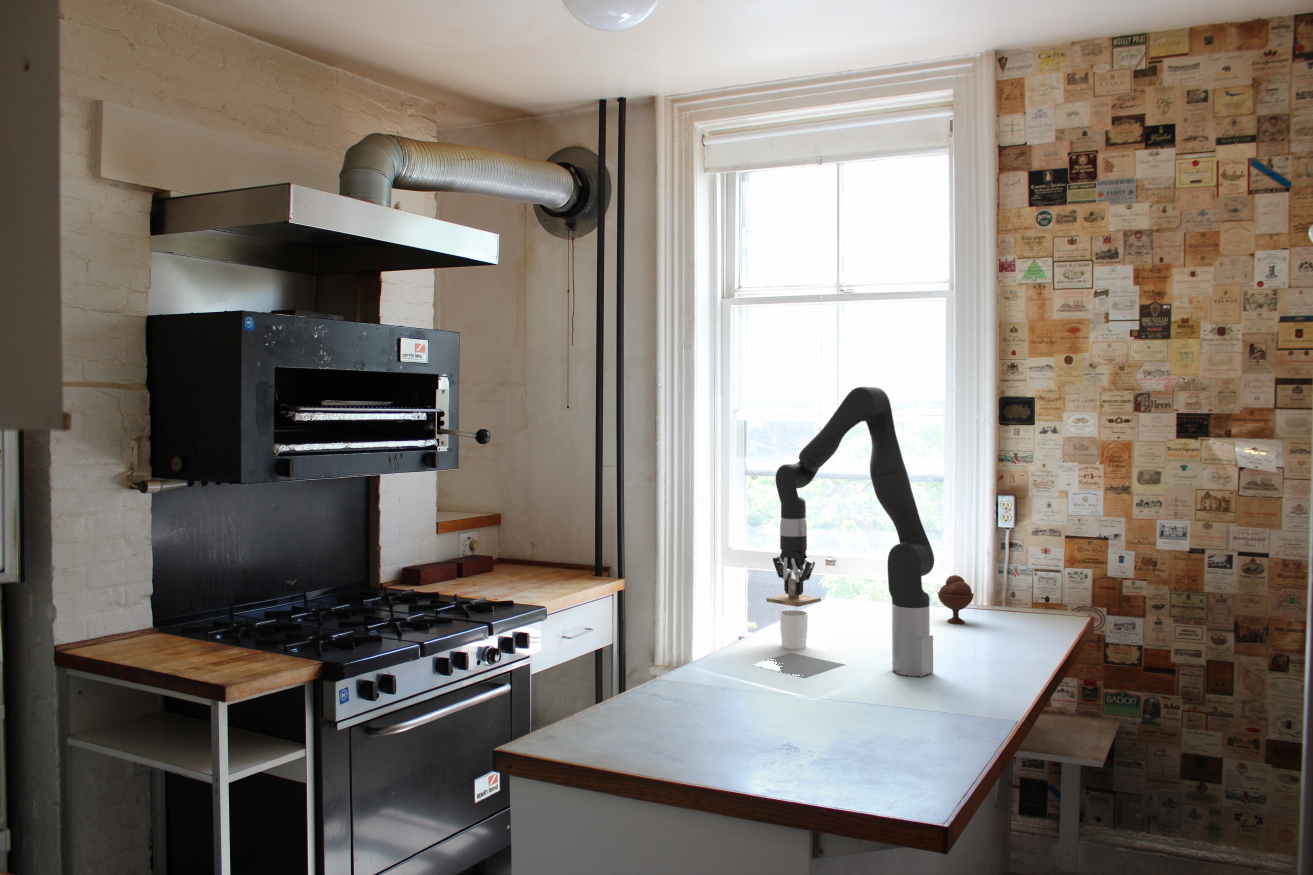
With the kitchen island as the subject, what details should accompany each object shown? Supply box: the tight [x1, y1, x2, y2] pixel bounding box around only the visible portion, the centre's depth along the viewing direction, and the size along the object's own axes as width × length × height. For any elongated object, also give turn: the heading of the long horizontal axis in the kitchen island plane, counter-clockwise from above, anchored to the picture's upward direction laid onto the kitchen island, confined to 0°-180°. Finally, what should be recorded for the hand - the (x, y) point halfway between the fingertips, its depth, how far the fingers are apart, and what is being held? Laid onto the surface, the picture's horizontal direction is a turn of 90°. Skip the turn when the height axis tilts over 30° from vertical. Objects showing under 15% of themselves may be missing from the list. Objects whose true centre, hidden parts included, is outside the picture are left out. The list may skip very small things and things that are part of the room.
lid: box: [765, 577, 822, 608], centre depth 252 cm, size 11×11×6 cm
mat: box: [765, 652, 846, 679], centre depth 232 cm, size 18×18×1 cm
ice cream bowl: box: [937, 574, 975, 625], centre depth 284 cm, size 11×11×15 cm
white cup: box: [779, 609, 809, 650], centre depth 252 cm, size 8×8×10 cm
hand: (793, 593), depth 252 cm, fingers closed on lid, 3 cm apart
